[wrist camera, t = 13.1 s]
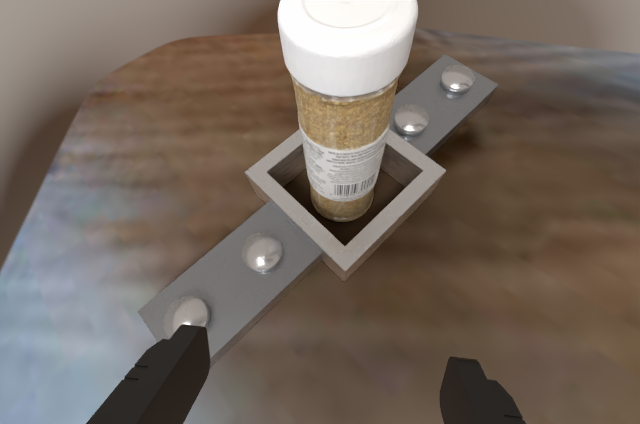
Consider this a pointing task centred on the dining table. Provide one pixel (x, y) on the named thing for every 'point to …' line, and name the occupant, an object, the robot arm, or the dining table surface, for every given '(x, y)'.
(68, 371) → the dining table surface
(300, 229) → the link socket
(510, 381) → the dining table surface
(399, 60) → the sprinkles bottle
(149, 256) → the dining table surface
